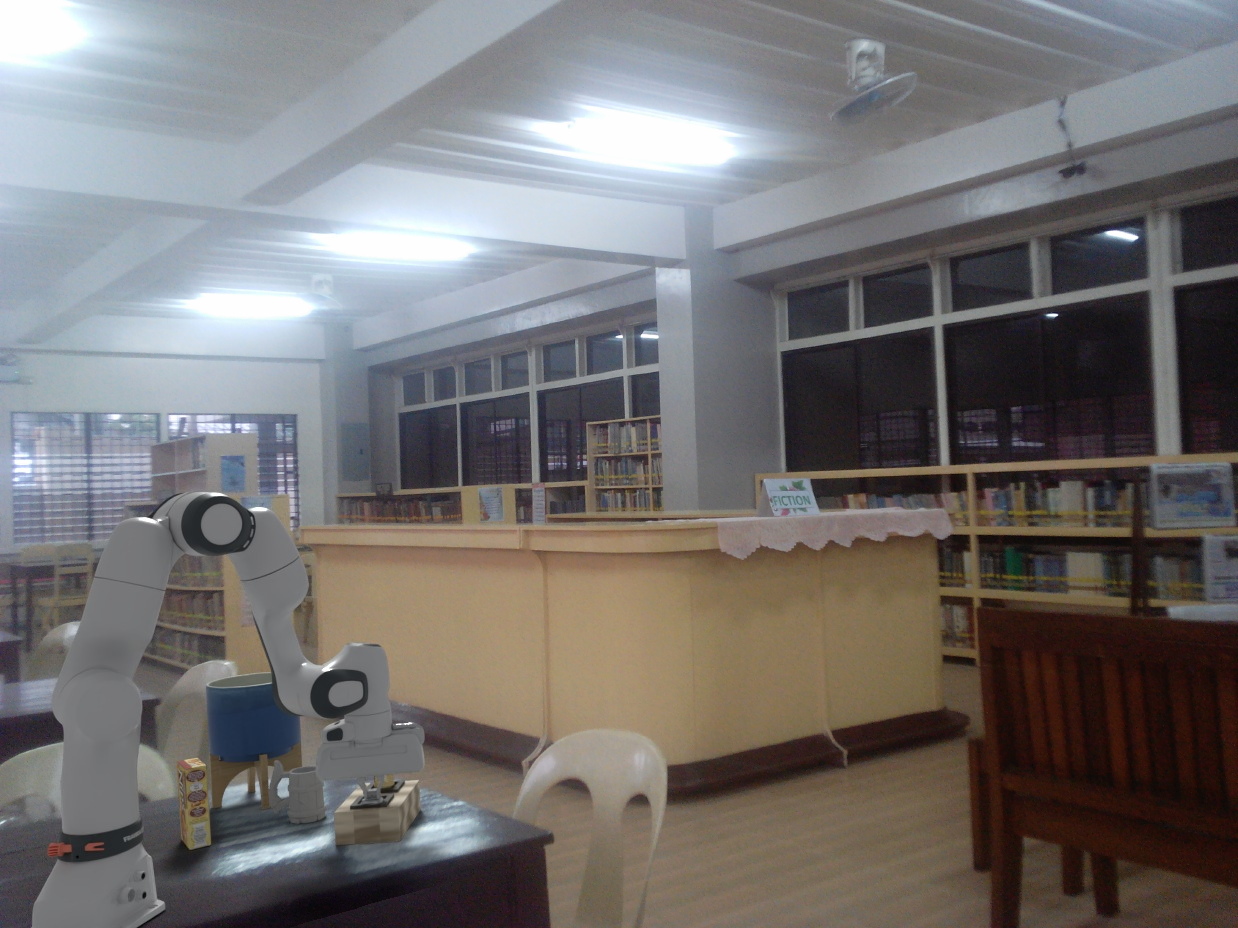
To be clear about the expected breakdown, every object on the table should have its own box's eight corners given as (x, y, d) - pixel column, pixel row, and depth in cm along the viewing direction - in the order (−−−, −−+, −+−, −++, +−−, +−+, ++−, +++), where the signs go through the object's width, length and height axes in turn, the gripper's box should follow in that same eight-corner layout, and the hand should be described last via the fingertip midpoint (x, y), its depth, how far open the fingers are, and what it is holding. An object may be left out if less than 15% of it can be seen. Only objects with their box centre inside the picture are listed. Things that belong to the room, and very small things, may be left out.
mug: (318, 823, 209) (315, 762, 209) (261, 825, 210) (258, 765, 210) (332, 811, 217) (329, 753, 217) (277, 813, 218) (274, 755, 218)
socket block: (399, 841, 194) (397, 805, 194) (335, 844, 194) (333, 809, 195) (420, 809, 214) (419, 776, 214) (362, 812, 214) (360, 780, 215)
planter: (218, 818, 217) (212, 690, 218) (206, 797, 234) (200, 679, 235) (312, 800, 227) (306, 678, 228) (294, 782, 243) (288, 668, 244)
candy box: (212, 845, 199) (208, 764, 199) (188, 850, 196) (184, 768, 197) (202, 834, 206) (198, 756, 207) (179, 839, 204) (175, 760, 204)
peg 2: (393, 805, 207) (391, 772, 208) (372, 806, 207) (371, 773, 208) (397, 799, 211) (395, 767, 212) (377, 800, 211) (375, 768, 212)
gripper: (424, 718, 204) (428, 789, 204) (317, 727, 202) (321, 799, 202) (422, 724, 198) (426, 798, 198) (311, 734, 196) (315, 808, 195)
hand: (372, 798), depth 200 cm, fingers closed, pressing on peg 1
